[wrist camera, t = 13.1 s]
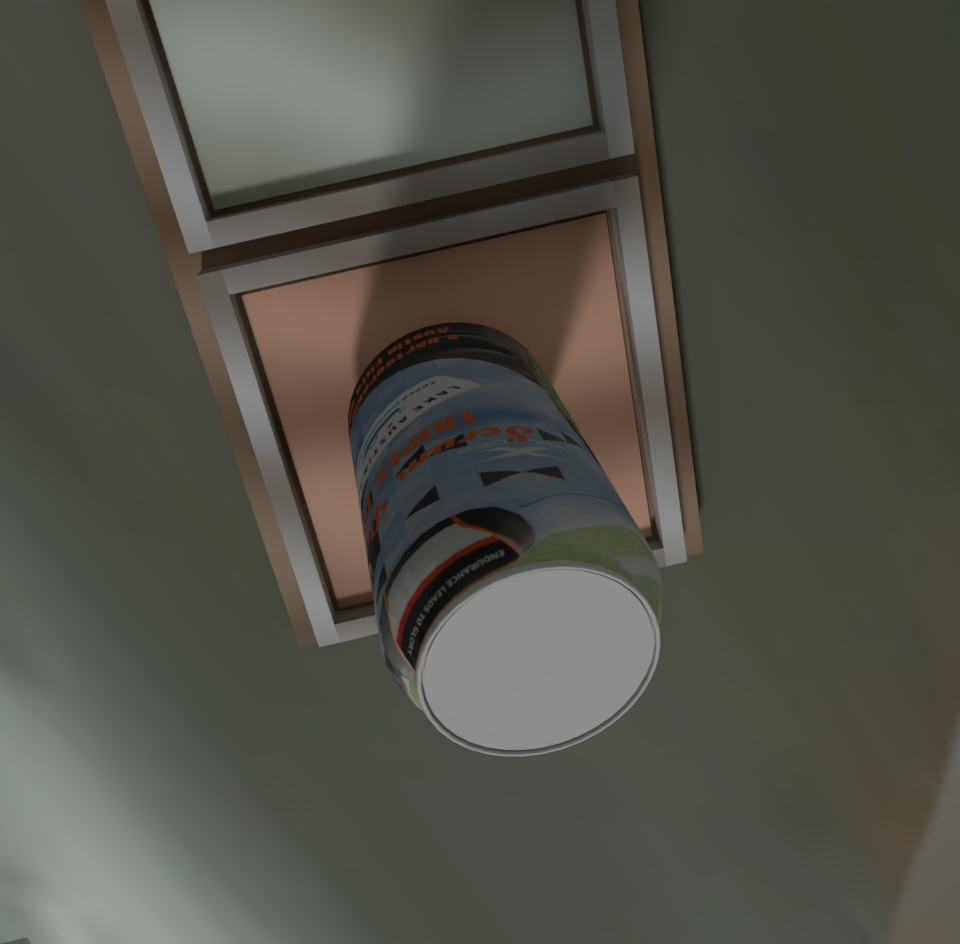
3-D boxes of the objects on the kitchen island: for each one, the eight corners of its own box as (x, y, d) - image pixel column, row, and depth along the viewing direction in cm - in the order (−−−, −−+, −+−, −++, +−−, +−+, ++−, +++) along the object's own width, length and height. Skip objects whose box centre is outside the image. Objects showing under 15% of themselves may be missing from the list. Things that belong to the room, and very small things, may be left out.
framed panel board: (-7, -289, 22) (-42, -324, 20) (574, -415, 22) (592, -460, 20) (301, 627, 32) (297, 660, 30) (692, 536, 32) (711, 563, 30)
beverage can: (451, 266, 26) (510, 401, 15) (614, 434, 29) (763, 653, 18) (301, 414, 27) (254, 637, 16) (469, 562, 30) (526, 841, 19)
